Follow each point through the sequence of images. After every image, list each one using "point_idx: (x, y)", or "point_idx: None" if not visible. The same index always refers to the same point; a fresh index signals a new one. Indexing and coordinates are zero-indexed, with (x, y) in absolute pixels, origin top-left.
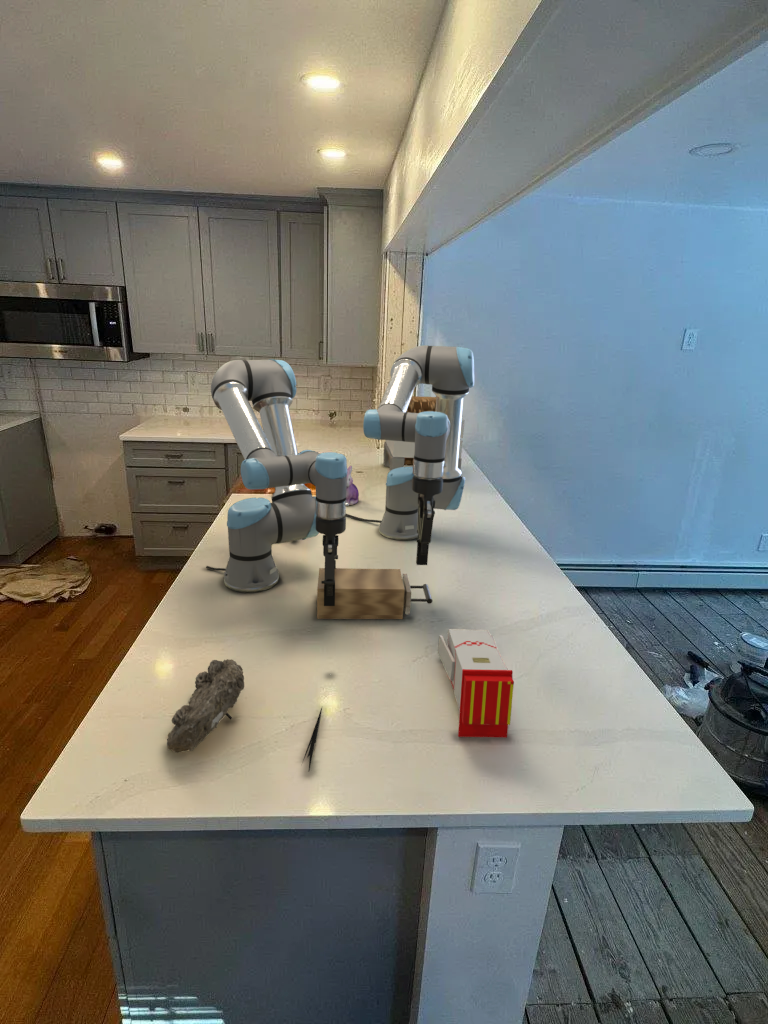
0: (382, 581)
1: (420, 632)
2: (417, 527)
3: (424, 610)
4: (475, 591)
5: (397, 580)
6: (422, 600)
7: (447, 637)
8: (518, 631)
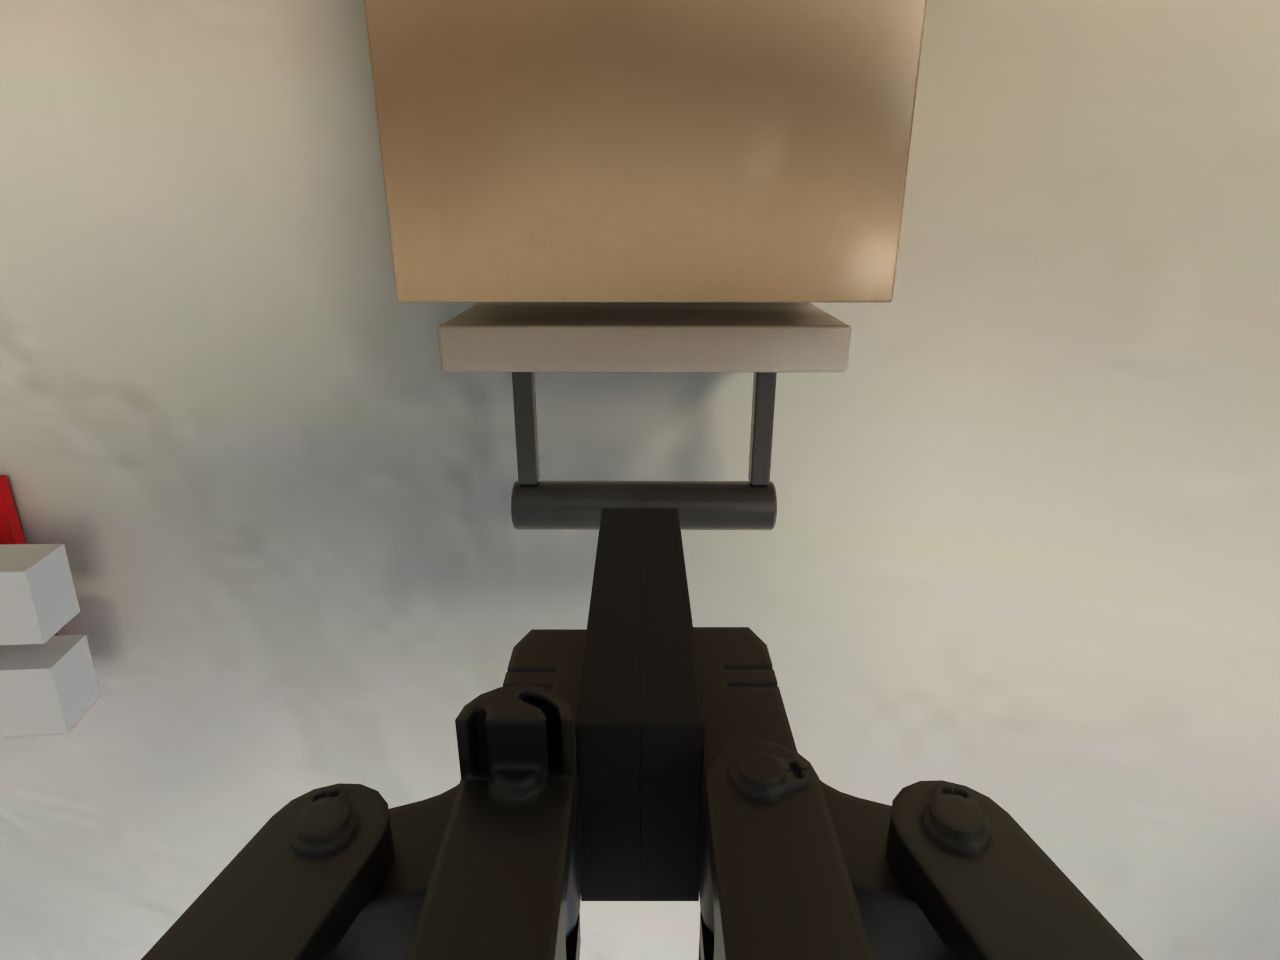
0: (565, 46)
1: (310, 381)
2: (1038, 906)
3: (608, 445)
4: (856, 790)
5: (599, 242)
6: (517, 452)
7: (53, 550)
8: None
